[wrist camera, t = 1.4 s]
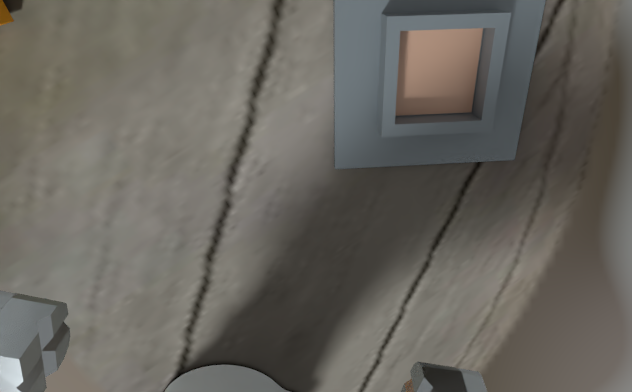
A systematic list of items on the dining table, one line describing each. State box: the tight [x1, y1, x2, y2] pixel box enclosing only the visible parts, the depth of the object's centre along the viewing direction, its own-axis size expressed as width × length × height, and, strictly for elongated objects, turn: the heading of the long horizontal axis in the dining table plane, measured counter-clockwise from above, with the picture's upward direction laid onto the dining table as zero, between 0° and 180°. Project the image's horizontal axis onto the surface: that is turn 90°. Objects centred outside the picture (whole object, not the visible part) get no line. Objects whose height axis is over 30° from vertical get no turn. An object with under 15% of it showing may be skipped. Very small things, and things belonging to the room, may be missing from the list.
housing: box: [334, 0, 546, 169], centre depth 36 cm, size 16×16×3 cm
